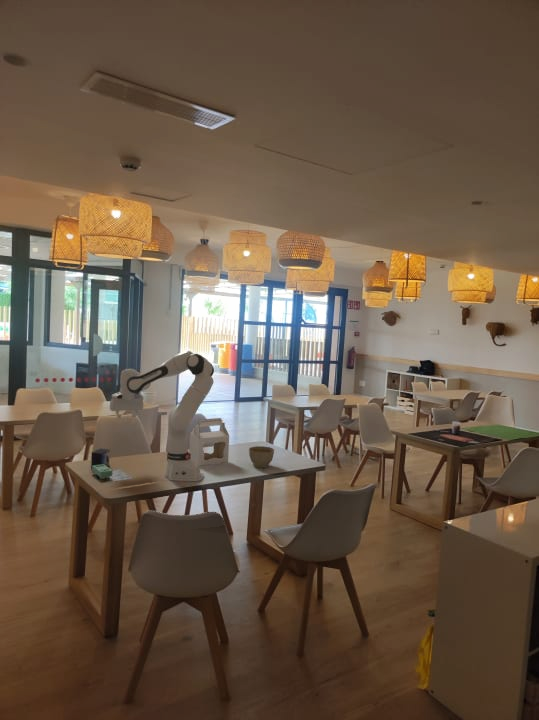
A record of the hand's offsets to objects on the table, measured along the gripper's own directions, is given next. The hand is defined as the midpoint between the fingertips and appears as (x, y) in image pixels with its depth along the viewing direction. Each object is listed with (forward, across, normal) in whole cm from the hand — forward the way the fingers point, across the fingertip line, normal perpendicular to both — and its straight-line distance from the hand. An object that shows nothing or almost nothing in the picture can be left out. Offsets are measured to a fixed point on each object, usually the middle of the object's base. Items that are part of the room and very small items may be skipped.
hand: (126, 417), depth 315 cm
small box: (+29, +16, +1) cm, 33 cm away
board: (+27, +21, +20) cm, 39 cm away
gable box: (+29, -49, +17) cm, 60 cm away
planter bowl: (+29, -74, +41) cm, 89 cm away
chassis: (+29, +16, +22) cm, 40 cm away
